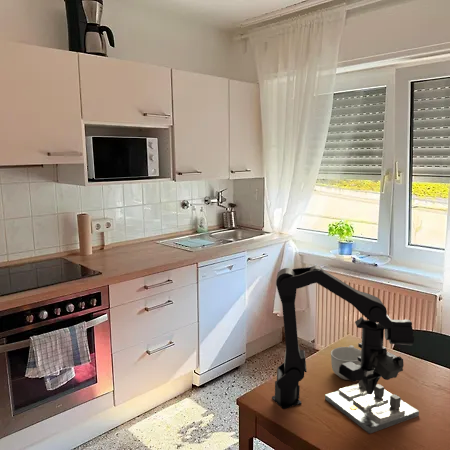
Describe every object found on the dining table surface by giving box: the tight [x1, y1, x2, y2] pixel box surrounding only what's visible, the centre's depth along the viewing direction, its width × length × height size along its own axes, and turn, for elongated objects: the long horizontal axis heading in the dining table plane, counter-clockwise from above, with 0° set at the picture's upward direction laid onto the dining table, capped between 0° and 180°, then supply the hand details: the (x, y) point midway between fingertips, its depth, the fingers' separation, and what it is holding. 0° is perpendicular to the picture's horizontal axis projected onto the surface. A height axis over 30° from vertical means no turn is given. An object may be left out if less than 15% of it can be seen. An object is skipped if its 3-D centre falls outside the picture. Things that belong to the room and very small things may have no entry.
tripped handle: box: [374, 383, 385, 398], centre depth 121 cm, size 2×2×3 cm
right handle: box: [390, 393, 402, 409], centre depth 116 cm, size 2×2×3 cm
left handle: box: [358, 380, 365, 388], centre depth 127 cm, size 2×2×3 cm
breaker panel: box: [324, 382, 420, 434], centre depth 120 cm, size 18×18×3 cm
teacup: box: [330, 345, 361, 381], centre depth 139 cm, size 14×11×8 cm
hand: (369, 394), depth 120 cm, fingers closed
